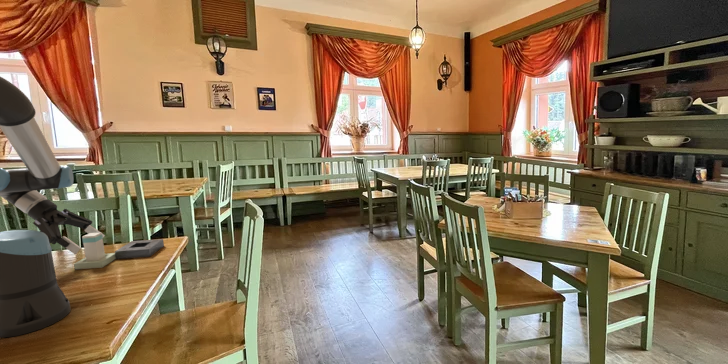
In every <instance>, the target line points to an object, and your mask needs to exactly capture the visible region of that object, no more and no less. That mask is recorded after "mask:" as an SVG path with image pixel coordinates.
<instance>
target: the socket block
mask: <svg viewBox="0 0 728 364" xmlns="http://www.w3.org/2000/svg"><path fill="white" fill-rule="evenodd" d="M163 247H165V243H164V238H158V239H143V240H142V239H141V240H131V241H130V242H128V243H126V244H124V245H123V246H121V247H120V248H118V249H117V250H115V251H114V253H115V256H116V259H115V260H120V259H123V260H125V259H132V258H133V259H134V258H135V259H136V258H137V259H138V258H150V257H152V255H154V254H155V253H156V252H158V251H159V250H161V249H162V248H163Z"/></svg>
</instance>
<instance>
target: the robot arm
mask: <svg viewBox="0 0 728 364" xmlns="http://www.w3.org/2000/svg"><path fill="white" fill-rule="evenodd" d="M35 117H36V109H35V107H34V105H33V103H32V101H31V99H29V97H28V96H27V95H26V94H25V93H24V92H23V91H22V90H20V88H19V87H17V86H16V85H15V84H13V83H12V82H11V81H9V80H7V79H6V78H4V77H2V76H0V130H1V132H2V133H3V134H4V136H5V137H6V139H7V141H8V142H9V143H10V144H11V146H12V148H13V149H14V151H15V153H17V155H18V157H19V158H20V160H21V161H22V163H23V164H24V165H25V168H11V169H9V168H7V169H5V168H2V167H0V197H1V198H3V199H4V200H6V201H7V203H8V202H9V203H10V204H12V205H13V206H14V207H16V208H17V209H19V210H20V211H21V212H23V213H24V214H27V216H28V217H30V219H32V220H34V221H33V222H32V224H33V225H35V227H37V228H38V230H35V229H34V230H33V229H12V230H4V231H0V339H1V338H10V337H12V338H13V337H17V336H22V335H26V334H29V333H33V332H36V331H39V330H42V329H44V328H47V327H48V326H51V325H53V324H55V323H57V322H59V321H61V320H62V319H64V318H65V317H66V316H68V315H69V314H70V312H71V310H72V308H71V304H70V303H71V302H70V300H69V299H68V298H67V297H66V295H65V294H64V292H63V290H62V289H61V287H60V286H59V284H58V281H57V276H56V275H57V274H56V269H55V264H54V258H53V252H52V251H53V248H52V247H51V244H52V245H56V244H58V245H60V246H62V247H63V248H65V249H67V250H68V251H69V252H70V253H72V254H73V255H76V254H78V252H80V250H81V249H82V247H81V246H79V244H76V242H74V241H73V240H71V239H69V237H66V236H65V235H64V236H62V233H61V230H60V226H61V225H69V226H72V227H74V228H75V227H76V228H80V229H83V230H84V232H85V233H87V234H89V233H100V232H101V231H99V230H98V229H97V228H96V227H94V226H93V225H92V224H93V221H92V220H91V219H88V218H86V217H83V216H82V215H80V214H77V213H74V212H72V211H70V210H69V209H67V208H64V209H63V210H62V211H60V210H58V205H57V204H56V203H54V202H53V201H52V200H51V199H49V198H47V197H46V196H45V195H43V194H42V193H40V192H39V191H42V190H43V191H45V190H55V189H56V190H60V189H63V188H65V189H66V188H70V187H72V186H73V184H74V180H75V179H74V172H73V169H72V167H70V166H69V165H62V164H61V165H60V163H59V161H58V159H57V158H56V156H55V155H54V152H53V150H52V149H51V147H50V144H49V142H48V141H47V138H45V135H44V133H43V131H42V129H41V128H40V126H39V124H38V123H37V120H36V119H35ZM105 236H106V235H105V234H104V233H102V237H103V238H105Z"/></svg>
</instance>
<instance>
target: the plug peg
mask: <svg viewBox="0 0 728 364" xmlns="http://www.w3.org/2000/svg"><path fill="white" fill-rule="evenodd" d="M99 232H100V233H89V234H88V233H87V234H85V235H83V236H81V238H82V244H83V250H84V255H85V257H86V261H99V260H101V259H103V258H104V257H105V254H106V252H105V246H104V237H102V234H103V233H102V232H101V231H99Z"/></svg>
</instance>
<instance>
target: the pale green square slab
mask: <svg viewBox="0 0 728 364" xmlns="http://www.w3.org/2000/svg"><path fill="white" fill-rule="evenodd" d="M115 260H117V259H116V256H115V252H111V253H105V257H104V258H103V259H101V260H99V261H86V256H85V257H83V258H82V259H80V260H78V261H76V262H74V263H73V267H74V270H84V269H85V270H86V269H97V268H99V269H101V268H104V267H106V266H107V265H108V264H110V263H111V262H113V261H115Z"/></svg>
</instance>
